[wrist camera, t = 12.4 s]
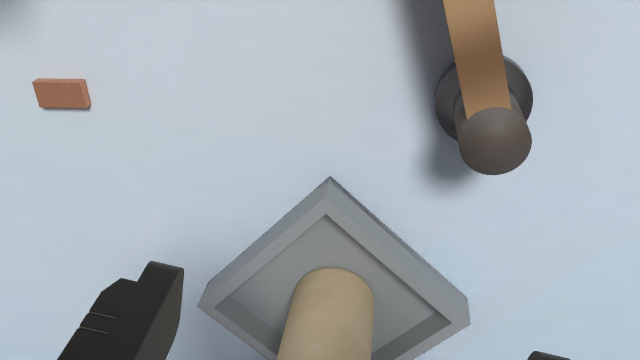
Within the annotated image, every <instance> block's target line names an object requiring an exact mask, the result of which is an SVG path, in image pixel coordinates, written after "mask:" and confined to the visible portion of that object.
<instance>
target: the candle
mask: <svg viewBox="0 0 640 360" xmlns="http://www.w3.org/2000/svg"><path fill="white" fill-rule="evenodd" d="M374 305H375V302H374V296H373V292H372V290H371V288H370V286H369V285H368V283H367V282H366V281H365V280H364V279H363V278H361V277H360V276H359V275H357V274H355V273H354V272H352V271H349V270H346V269H343V268H337V267H324V268H319V269H315V270H313V271H311V272H309V273H307V274H306V275H305V276H303V277H302V278H301V280H300V281H299V282H298V284H297V286H296V288H295V291H294V294H293V298H292V301H291V305H290V309H289V313H288V317H287V321H286V325H285V328H284V332H283V336H282V340H281V344H280V348H279V352H278V356H277V359H276V360H371V350H372V336H373V323H374Z"/></svg>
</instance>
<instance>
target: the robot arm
mask: <svg viewBox="0 0 640 360" xmlns="http://www.w3.org/2000/svg"><path fill="white" fill-rule="evenodd" d="M183 279H184V269H183V268H180V267H176V266H172V265H167V264H163V263H159V262H154V261H150V262H149V263H148V264H147V266H146V268H145V269H144V271H143V273H142V274H141V276H140V278H139V280H138V281H137V282H135V281H131V280H127V279H122V278H120V279H119V280H118V281H116V282H115V283H113V284H112V285H111V286H109V287H108V288H106V289H105V290H103V291H102V292H101V293H100V295H99V296H98V298H97V299H96V301H95V303H94V304H93V306H92V307H91V309H90V311H89V314H87V315H86V316H85V318H84V319H83V321H82V322H81V324H80V327H79V329H77V330H76V332H75V333H74V335H73V336H72V338H71V339H70V341H69V342H68V344H67V345H66V347H65V348H64V350H63V352H62V353H61V355H60V356H59V358H58V359H57V360H165V359H166V357H167V355H168V352H169V350H170V348H171V346H172V343H173V341H174V338H175V335H176V332H177V329H178V325H179V320H180V312H181V301H182V290H183ZM528 360H570V359H568V358H564V357H560V356H556V355H551V354H547V353H543V352H538V351H534V352H532V353H531V355H530V356H529V358H528Z"/></svg>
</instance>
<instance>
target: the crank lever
mask: <svg viewBox="0 0 640 360" xmlns="http://www.w3.org/2000/svg"><path fill="white" fill-rule="evenodd" d="M443 5H444V9H445V14H446V19H447V24H448V29H449V34H450V39H451V44H452V49H453V54H454V59H455V64H456V69H457V73H458V78H459V83H460V88H461V89H460V91H459V92H458V93H457V95H456V97H455V100H454V104H453V112H454V118H455V124H456V130H457V136H458V142H459V148H460V153H461V156H462V158H463V160H464V162H465V163H466V164H467V165H468V166H469V167H470V168H471V169H473V170H475V171H477V172H479V173H482V174H486V175H499V174H504V173H507V172H510V171H512V170H514V169H515V168H517V167H518V166H519V165H521V164H522V163H523V162H524V160H525V159H526V158H527V156H528V154H529V152H530V149H531V144H532V138H531V133H530V131H529V128H528V126H527V124H526V121H525V119H524V116H523V114H522V112H521V109H520V107H519V105H518V102H517V100H516V98H515V95H514V93H513V91H512V89H511V88H510V87H509V86H508V85H507V79H506V72H505V66H504V60H503V54H502V48H501V42H500V36H499V30H498V24H497V18H496V12H495V6H494V0H443Z"/></svg>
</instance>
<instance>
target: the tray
mask: <svg viewBox="0 0 640 360" xmlns="http://www.w3.org/2000/svg"><path fill="white" fill-rule="evenodd" d="M324 267H337V268H343V269H346V270H349V271H352V272H354V273H355V274H357V275H359V276H360V277H361V278H363V279H364V280H365V281H366V282H367V283H368V285H369V286H370V288H371V290H372V292H373V296H374V302H375V305H374V323H373V336H372V350H371V360H413V359H415V358H416V357H418V356H420V355H421V354H423V353H425V352H426V351H428V350H429V349H431V348H433V347H434V346H436V345H438V344H439V343H441V342H442V341H444V340H446V339H447V338H449V337H451V336H452V335H454V334H455V333H457V332H459V331H460V330H462V329H464V328H465V327H467V326H469V325H470V316H469V308H468V300H467V297H466V296H465V295H464V294H462V293H461V292H460V291H459V290H458V289H457V288H456V287H454V286H453V285H452V284H451V283H450V282H449V281H448V280H447V279H445V278H444V277H443V276H442V275H441V274H440V273H439V272H438V271H436V270H435V269H434V268H433V267H432V266H431V265H430V264H429V263H427V262H426V261H425V260H424V259H423V258H422V257H421V256H420V255H418V254H417V253H416V252H415V251H414V250H413V249H412V248H411V247H409V246H408V245H407V244H406V243H405V242H404V241H403V240H402V239H400V238H399V237H398V236H397V235H396V234H395V233H394V232H393V231H391V230H390V229H389V228H388V227H387V226H386V225H385V224H384V223H382V222H381V221H380V220H379V219H378V218H377V217H376V216H375V215H373V214H372V213H371V212H370V211H369V210H368V209H367V208H366V207H364V206H363V205H362V204H361V203H360V202H359V201H358V200H357V199H355V198H354V197H353V196H352V195H351V194H350V193H349V192H348V191H346V190H345V189H344V188H343V187H342V186H341V185H340V184H339V183H337V182H336V181H335V180H334V179H333V178H332V177H331V176H330V177H329V178H328V179H326V180H325V181H324V182H323V183H322V184H321V185H320V186H318V187H317V188H316V189H315V190H314V191H313V192H312V193H310V194H309V195H308V196H307V197H306V198H305V199H303V200H302V201H301V202H300V203H299V204H298V205H297V206H295V207H294V208H293V209H292V210H291V211H290V212H289V213H287V214H286V215H285V216H284V217H283V218H282V219H281V220H279V221H278V222H277V223H276V224H275V225H274V226H273V227H271V228H270V229H269V230H268V231H267V232H266V233H265V234H263V235H262V236H261V237H260V238H259V239H258V240H257V241H255V242H254V243H253V244H252V245H251V246H250V247H249V248H247V249H246V250H245V251H244V252H243V253H242V254H241V255H239V256H238V257H237V258H236V259H235V260H234V261H233V262H231V263H230V264H229V265H228V266H227V267H226V268H225V269H223V270H222V271H221V272H220V273H219V274H218V275H217V276H215V277H214V278H213V279H212V280H211V281H210V282H209V283H208V284H207V287H206V289H205V291H204V293H203V295H202V297H201V300H200V302H199V304H198V306H197V307H198V308H200V309H201V310H202V311H204V312H205V313H206V314H208V315H209V316H210V317H212V318H213V319H214V320H216V321H217V322H218V323H220V324H221V325H222V326H224V327H225V328H226V329H228V330H229V331H230V332H232V333H233V334H234V335H236V336H237V337H238V338H240V339H241V340H242V341H244V342H245V343H246V344H248V345H249V346H250V347H252V348H253V349H254V350H256V351H257V352H258V353H260V354H261V355H262V356H264V357H265V358H266V359H268V360H276V359H277V356H278V352H279V348H280V344H281V340H282V336H283V332H284V328H285V325H286V321H287V317H288V313H289V309H290V305H291V301H292V298H293V294H294V291H295V288H296V286H297V284H298V282H299V281H300V280H301V278H302V277H303V276H305V275H306V274H307V273H309V272H311V271H313V270H315V269H319V268H324Z"/></svg>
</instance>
